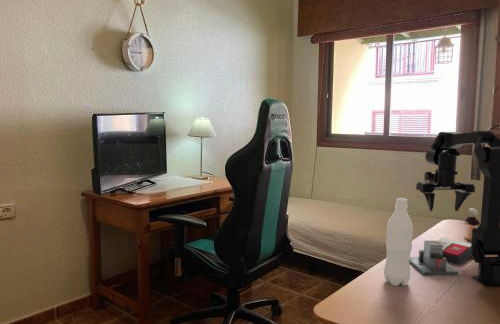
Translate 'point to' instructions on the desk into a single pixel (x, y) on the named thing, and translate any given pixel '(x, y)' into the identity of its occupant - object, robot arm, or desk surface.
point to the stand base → (433, 265)
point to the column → (431, 250)
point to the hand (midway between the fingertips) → (443, 210)
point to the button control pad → (455, 250)
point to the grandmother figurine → (471, 223)
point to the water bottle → (398, 245)
